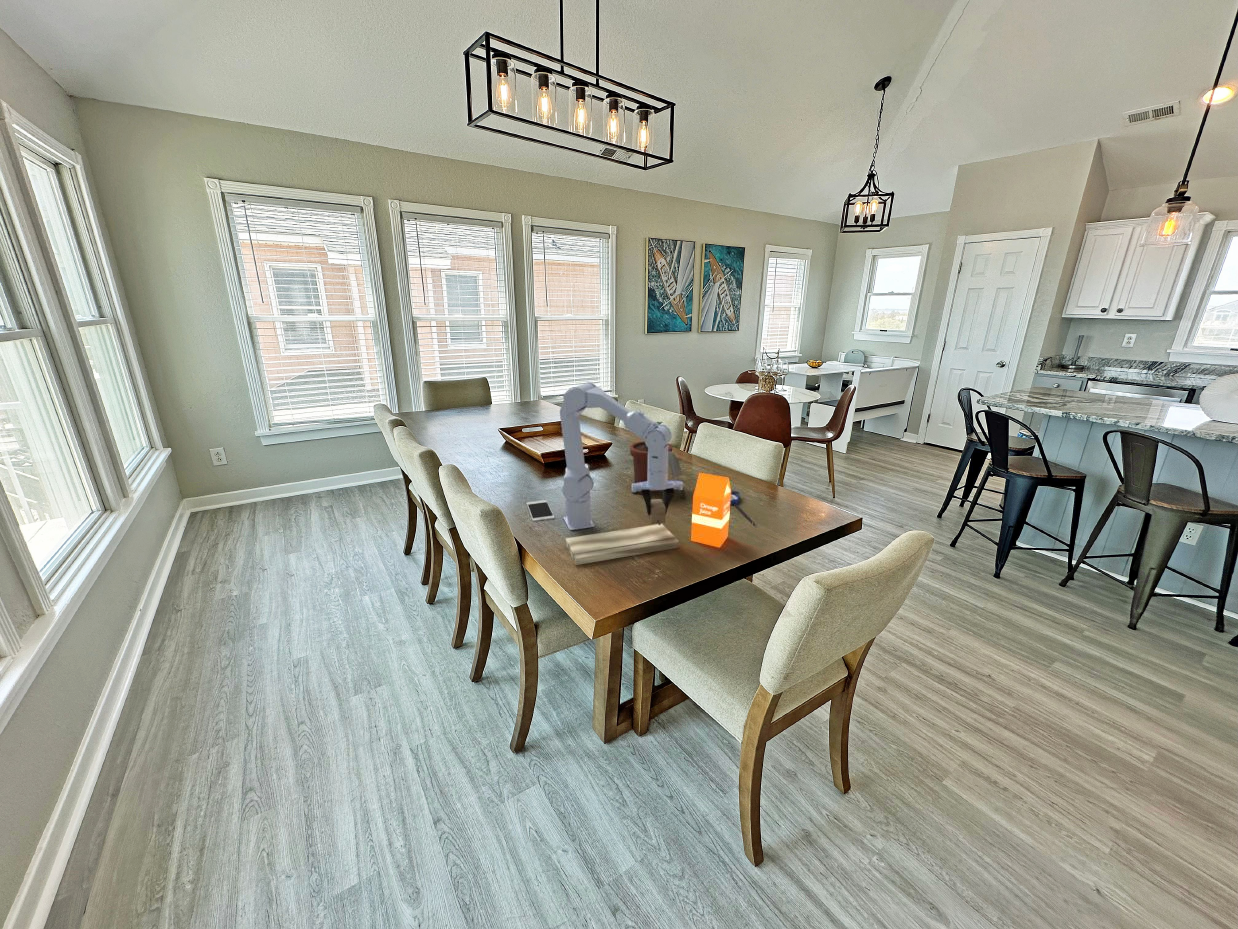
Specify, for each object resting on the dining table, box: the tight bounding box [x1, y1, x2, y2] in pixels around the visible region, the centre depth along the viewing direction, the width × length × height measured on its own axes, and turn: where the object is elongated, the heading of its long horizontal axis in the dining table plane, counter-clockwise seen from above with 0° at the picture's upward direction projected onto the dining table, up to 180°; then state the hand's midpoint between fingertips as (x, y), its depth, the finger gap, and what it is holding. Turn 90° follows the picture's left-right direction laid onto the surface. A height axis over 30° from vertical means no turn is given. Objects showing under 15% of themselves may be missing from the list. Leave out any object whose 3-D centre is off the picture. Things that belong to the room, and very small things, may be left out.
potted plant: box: [629, 421, 687, 499], centre depth 174 cm, size 18×22×25 cm
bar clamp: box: [730, 489, 758, 527], centre depth 158 cm, size 32×2×10 cm
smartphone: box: [526, 499, 555, 523], centre depth 160 cm, size 7×15×1 cm, turn 18°
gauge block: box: [647, 498, 667, 525], centre depth 138 cm, size 8×4×5 cm, turn 7°
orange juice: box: [690, 472, 732, 548], centre depth 138 cm, size 8×9×20 cm
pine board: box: [565, 523, 680, 566], centre depth 137 cm, size 12×30×2 cm, turn 109°
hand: (656, 513), depth 139 cm, fingers closed on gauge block, 4 cm apart
